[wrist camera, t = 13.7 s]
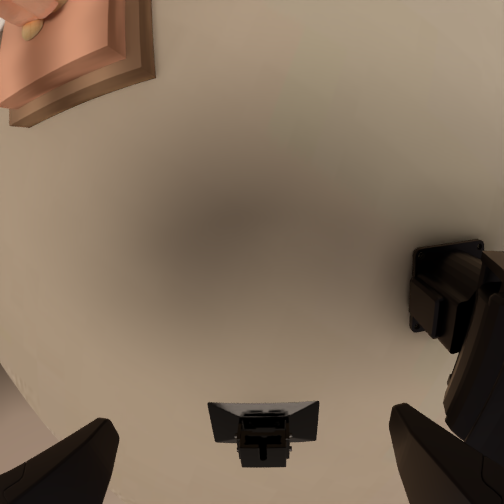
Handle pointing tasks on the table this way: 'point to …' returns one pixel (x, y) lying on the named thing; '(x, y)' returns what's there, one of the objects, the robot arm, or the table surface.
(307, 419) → the black barn door light
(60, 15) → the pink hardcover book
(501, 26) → the table surface
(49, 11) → the grandmother figurine
